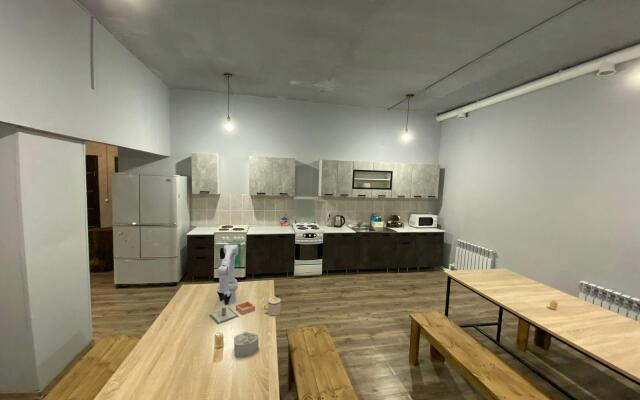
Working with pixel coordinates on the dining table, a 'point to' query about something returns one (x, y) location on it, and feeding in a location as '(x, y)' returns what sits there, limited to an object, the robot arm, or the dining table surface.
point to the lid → (223, 315)
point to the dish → (245, 308)
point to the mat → (223, 321)
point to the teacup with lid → (273, 306)
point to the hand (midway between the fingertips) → (224, 302)
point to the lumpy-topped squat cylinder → (245, 344)
